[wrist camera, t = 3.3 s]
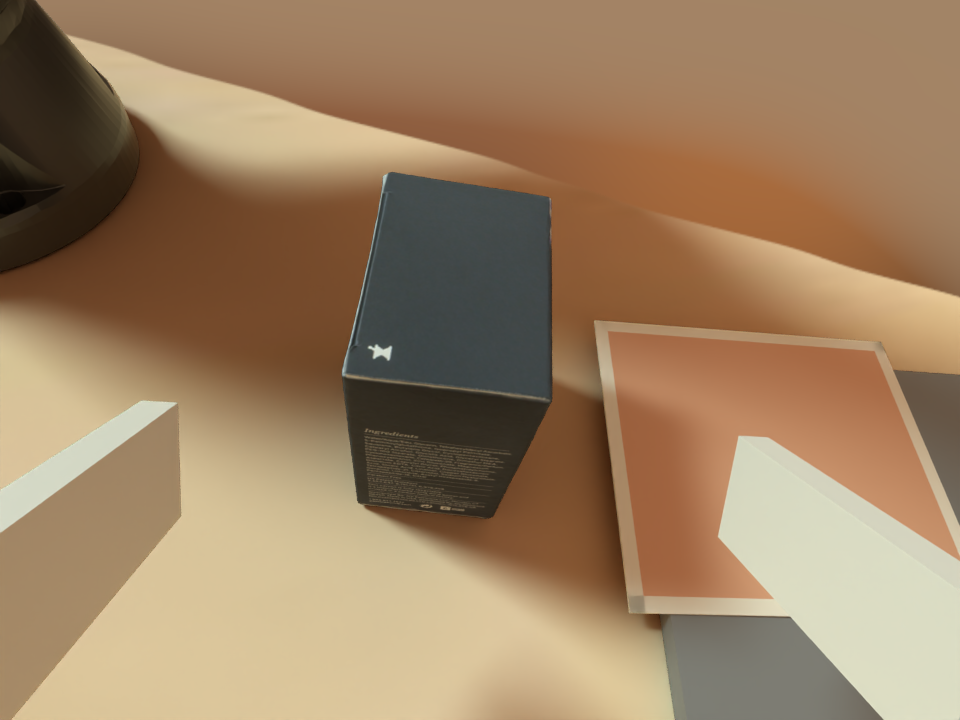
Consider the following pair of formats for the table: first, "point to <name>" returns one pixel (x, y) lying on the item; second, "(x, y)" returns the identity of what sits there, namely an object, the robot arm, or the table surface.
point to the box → (449, 345)
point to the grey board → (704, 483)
